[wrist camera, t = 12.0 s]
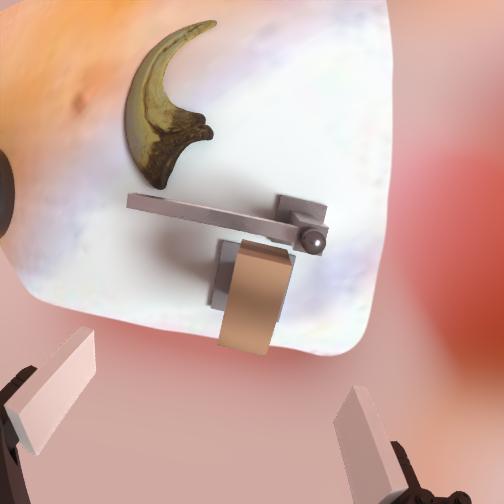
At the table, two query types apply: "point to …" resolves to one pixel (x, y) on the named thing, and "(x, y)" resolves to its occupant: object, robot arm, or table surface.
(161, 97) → the claw
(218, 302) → the mat
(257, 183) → the table surface
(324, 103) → the table surface
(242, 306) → the tan brick
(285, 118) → the table surface
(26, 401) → the robot arm
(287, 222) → the grey lever handle
